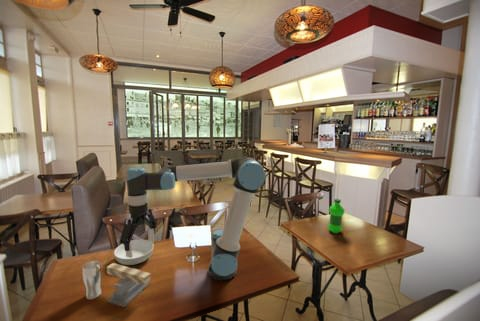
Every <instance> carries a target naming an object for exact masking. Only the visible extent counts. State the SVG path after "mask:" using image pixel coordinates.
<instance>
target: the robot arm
mask: <svg viewBox="0 0 480 321" xmlns="http://www.w3.org/2000/svg"><path fill="white" fill-rule="evenodd" d="M227 177H229V178H230V179H234V181H233V183H232V186H233V189H234V191H233V196H232V199H231V203H230V206H229V208H228V213H227V215H226V219H225V222H224V225H223V228H219V229H216V230H214V231H212V232H211V258H210V262H209V265H208V267H207V268H208V269H207V270H208V271H207V272H208V273H209V274H208V276H209V277H210V278H211V279H213V280H216V281H218V280H220V281H223V280H225V281H228V279H229V280H231V279H233V278H234V277H235V276H236V275H235V274H237V268H238V257H239V253H240V250H241V245H240V238H241V235H242V232H243V229H244V227H245V223H246V220H247V216H248V213H249V210H250V206H251V204H252V201H253V198H254V196H255V195H257V194H258V192H259V189H260V188H261V186H262V185H263V184H264V182H265V180H266V172H265V168H264V167H263V166H262V164H261V163H260V162H259V161H257V160H256V159H255V158H253V157H250V156H244V157H237V158H236V157H235V158H230V159H228V160H227V161H219V162H218V161H217V162H206V163H198V164H197V163H196V164H185V165H174V166H172V165H164V166H163V167H161V168H160V169H159V170H158V171H155V172H147V171H146V169H145V167H138V166H137V167H132V168H128V169H127V170H126V180H125V181H126V188H127V202H128V203H127V204H128V213H129V214H130V218H124V220H123V221H124V222H123V223H124V225H123V229H122V231H121V236H120V239H119V244H120V245H121V244H124V248H125V251H126V257H130V258H132V257H133V255H132V242H130V241H132V238H133V236H134V234H135V231H136V229H137V228H138V227H139V226H140V225H141V224H145V225H146V226H147V227H148V228H147V233H148V235H147V236H148V238H147V240H148V241H149V242H152V243H154V242H155V229H157V226H158V222H157V220H156V218H155V216H154V214H153V210H152V209H151V208H148V207H149V206H148V192H147V191H162V190H163V191H168V190H173V189H174V188H175V185H176V182H185V181H194V180H206V179H207V180H208V179H216V178H217V179H218V178H227ZM233 276H234V277H233ZM232 277H233V278H232ZM223 282H224V281H223Z"/></svg>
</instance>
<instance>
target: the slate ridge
mask: <svg viewBox="0 0 480 321" xmlns="http://www.w3.org/2000/svg"><path fill="white" fill-rule="evenodd" d="M136 269H137V270H140V271H143V270H142V269H138V268H136ZM149 284H150V285H151V281H149V282H148V283H147V284H146V285H142V284H139V283H136V282H133V281H129V280H126V279H123V278H120V279H119V280H118V281H116V283H114V291H113V294H112V295H110V296H109V297H108V298H107V299H106V302H107V301H109V302H112V303H114V304H117V305H120V306H123V307H125V306H126V305H127V304H128V303H129V302H130V301H131V300H132V299H133V298H135V296H137V295H138V294H139V293H140V292H141V291H142V290H143V289H144V288H145V287H146V286H148V285H149ZM150 285H149V286H150ZM149 286H148V287H149ZM143 291H144V290H143ZM143 291H142V292H143ZM142 292H141V293H142ZM141 293H140V294H141ZM140 294H139V295H140ZM139 295H138V296H139ZM138 296H137V297H138ZM135 299H136V298H135ZM132 301H133V300H132ZM132 301H131V302H132ZM109 302H108V303H109ZM131 302H130V303H131ZM112 303H111V304H112ZM130 303H129V304H130ZM114 304H113V305H114ZM129 304H128V305H129ZM117 305H116V306H117ZM128 305H127V306H128ZM120 306H119V307H120ZM127 306H126V307H127ZM123 307H122V308H123ZM126 307H125V308H126Z"/></svg>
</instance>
